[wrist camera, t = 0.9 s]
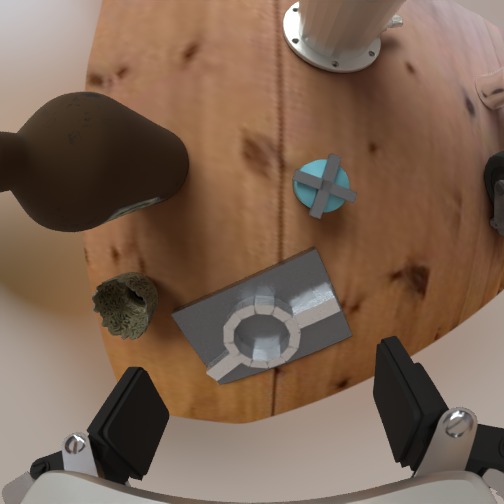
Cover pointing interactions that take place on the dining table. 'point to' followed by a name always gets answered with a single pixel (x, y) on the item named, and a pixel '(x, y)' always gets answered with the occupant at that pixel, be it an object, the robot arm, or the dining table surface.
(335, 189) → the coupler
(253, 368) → the coupling base
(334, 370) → the dining table surface
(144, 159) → the olive oil
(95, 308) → the cup
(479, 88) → the beer glass
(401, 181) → the dining table surface
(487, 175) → the caster wheel
